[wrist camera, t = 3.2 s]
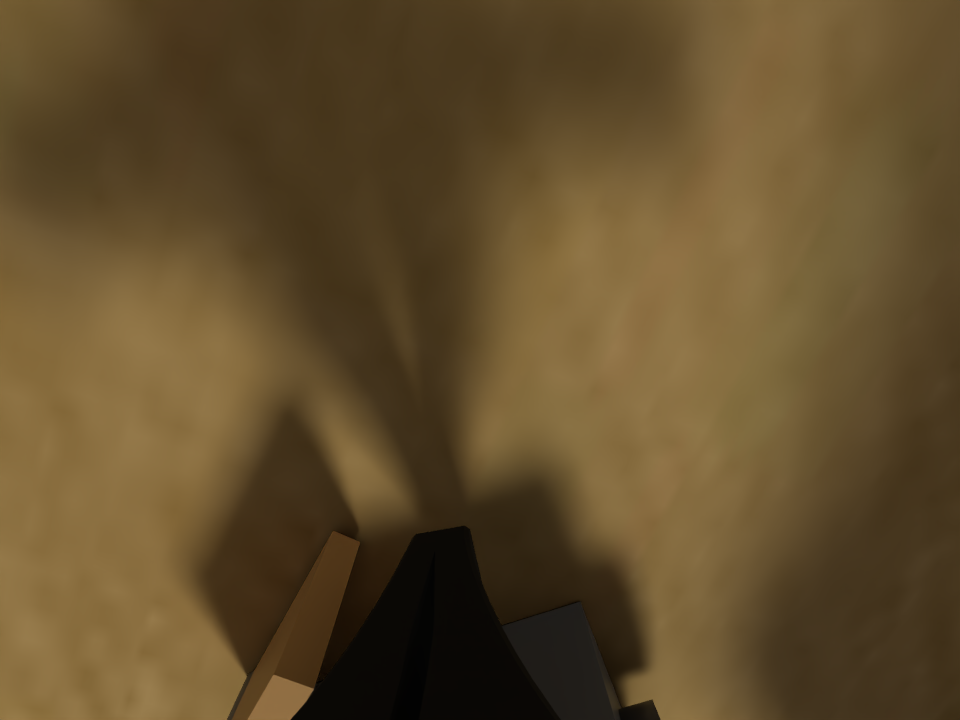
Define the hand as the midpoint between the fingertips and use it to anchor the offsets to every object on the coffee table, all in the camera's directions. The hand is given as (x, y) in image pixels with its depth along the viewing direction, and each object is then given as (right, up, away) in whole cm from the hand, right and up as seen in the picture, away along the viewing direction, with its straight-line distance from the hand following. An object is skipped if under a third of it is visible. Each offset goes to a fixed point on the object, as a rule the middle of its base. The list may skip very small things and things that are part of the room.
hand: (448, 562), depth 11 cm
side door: (-4, -3, +2) cm, 6 cm away
